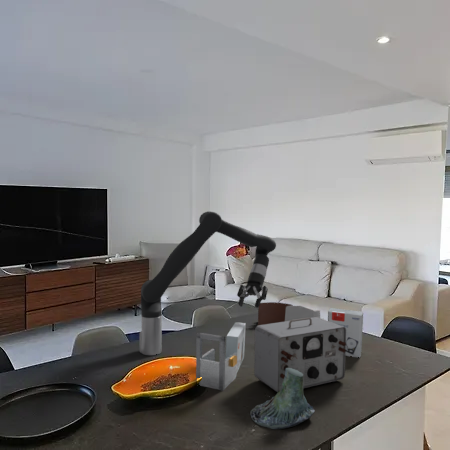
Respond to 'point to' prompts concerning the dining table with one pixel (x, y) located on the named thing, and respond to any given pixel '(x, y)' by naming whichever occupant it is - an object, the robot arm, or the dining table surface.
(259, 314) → the letter holder
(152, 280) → the robot arm
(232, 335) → the skincare box
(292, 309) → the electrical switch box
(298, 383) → the tree stump
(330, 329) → the vintage electronic device
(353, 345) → the hard drive box
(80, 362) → the dining table surface
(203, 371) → the rack bay
